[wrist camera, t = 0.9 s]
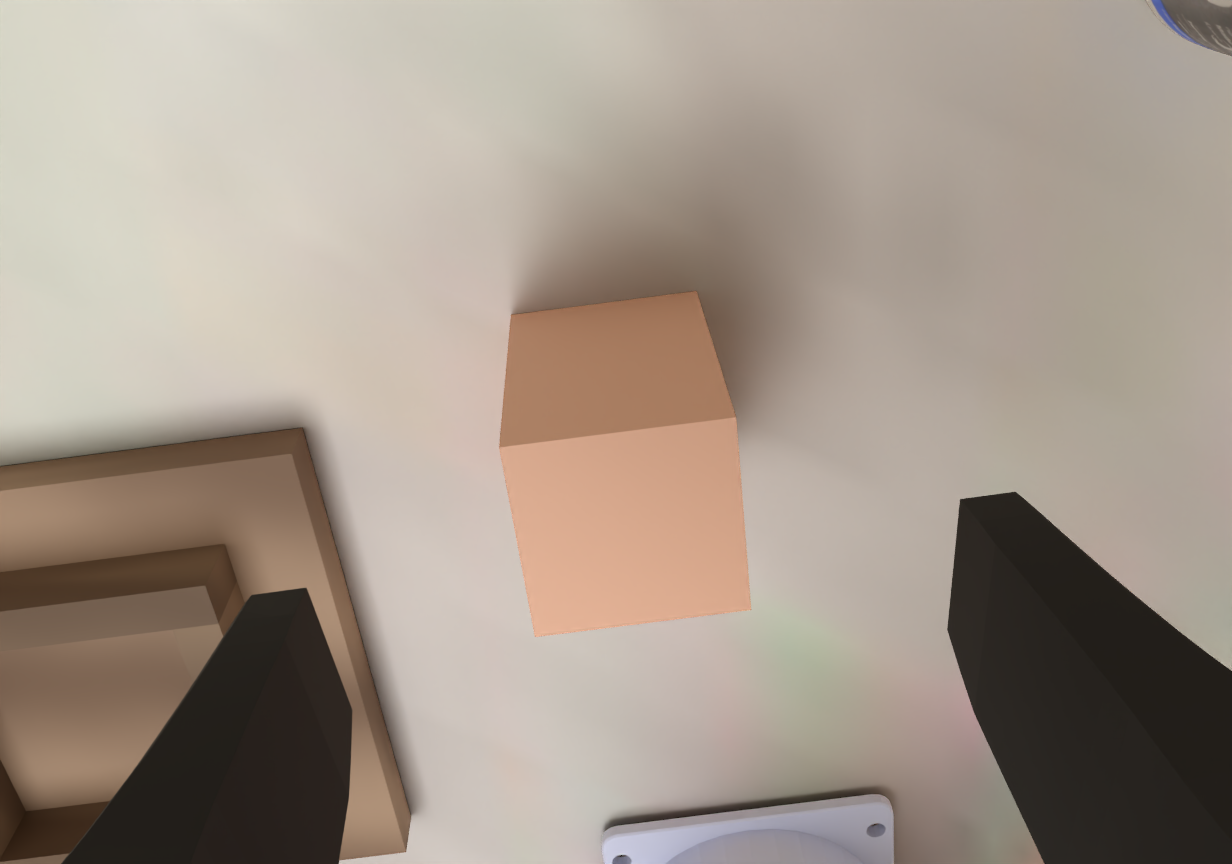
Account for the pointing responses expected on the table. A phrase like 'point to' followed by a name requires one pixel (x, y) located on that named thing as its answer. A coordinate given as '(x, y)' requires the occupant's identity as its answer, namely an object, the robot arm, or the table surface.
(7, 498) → the display stand
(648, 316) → the terracotta block
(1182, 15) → the pill bottle
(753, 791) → the table surface
